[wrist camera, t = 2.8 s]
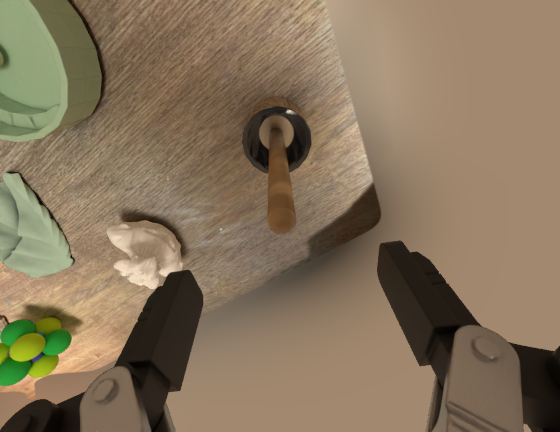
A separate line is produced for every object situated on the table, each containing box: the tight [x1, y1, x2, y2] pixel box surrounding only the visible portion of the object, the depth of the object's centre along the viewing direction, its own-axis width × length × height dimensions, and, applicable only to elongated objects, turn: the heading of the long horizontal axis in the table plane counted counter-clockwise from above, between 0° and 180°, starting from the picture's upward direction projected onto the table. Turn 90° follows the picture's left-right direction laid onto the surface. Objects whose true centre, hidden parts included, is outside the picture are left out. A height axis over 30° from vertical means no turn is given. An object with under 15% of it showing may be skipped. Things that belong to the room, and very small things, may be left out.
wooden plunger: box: [259, 112, 296, 234], centre depth 21 cm, size 4×4×20 cm
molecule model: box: [0, 317, 72, 386], centre depth 45 cm, size 9×9×9 cm
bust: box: [107, 220, 183, 289], centre depth 34 cm, size 12×8×11 cm
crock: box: [242, 97, 311, 174], centre depth 27 cm, size 7×7×6 cm
